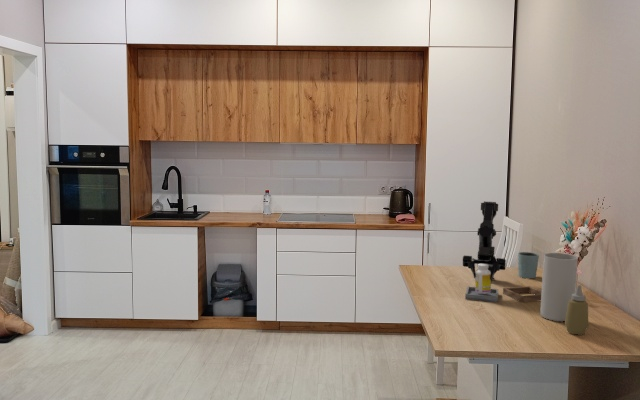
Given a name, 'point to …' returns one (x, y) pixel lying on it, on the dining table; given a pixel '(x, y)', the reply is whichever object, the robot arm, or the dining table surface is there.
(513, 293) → the tray
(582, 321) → the squeeze bottle
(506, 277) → the dining table surface
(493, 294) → the slate tray
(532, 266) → the teal tapered cup
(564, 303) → the cylinder vase
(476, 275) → the supplement bottle
